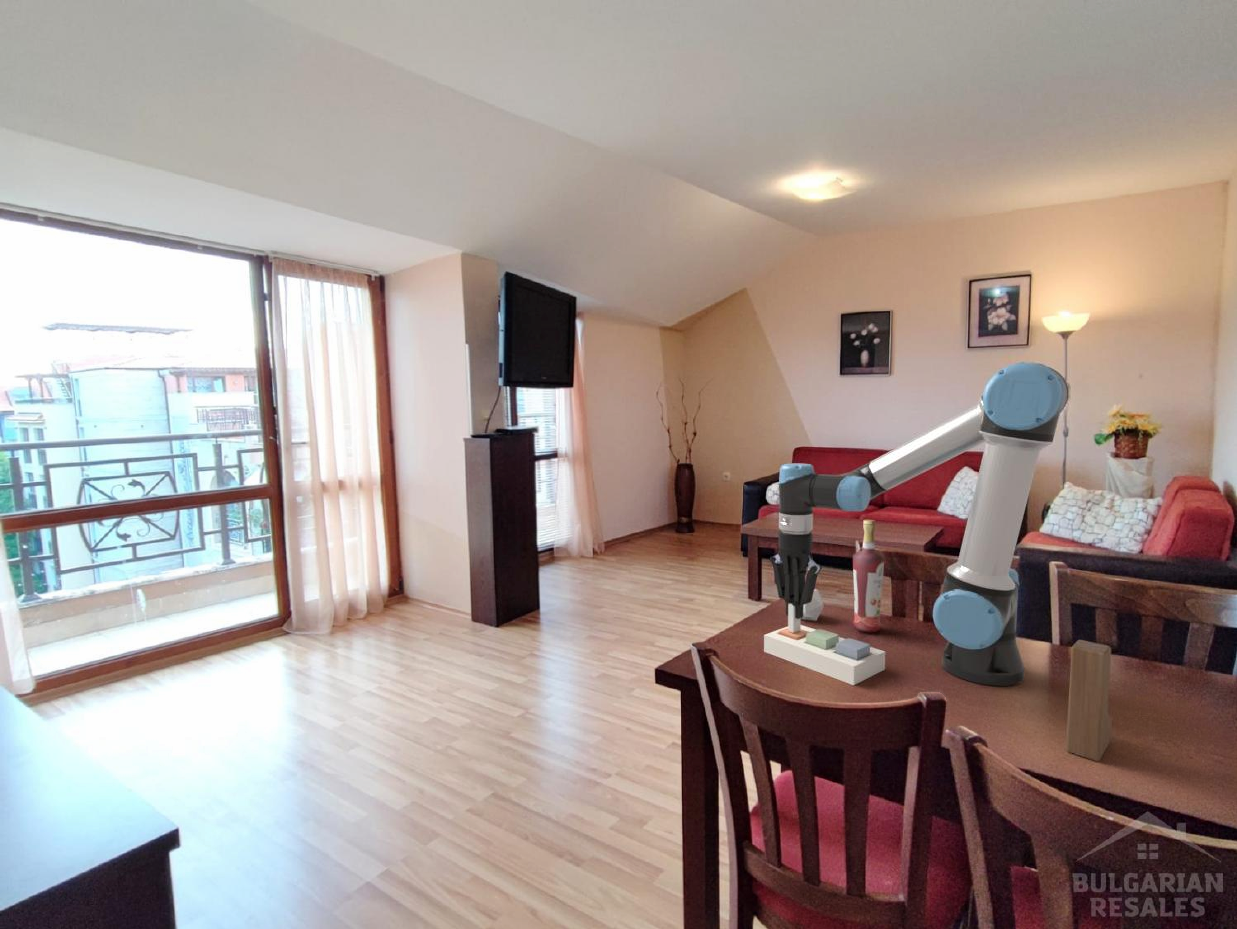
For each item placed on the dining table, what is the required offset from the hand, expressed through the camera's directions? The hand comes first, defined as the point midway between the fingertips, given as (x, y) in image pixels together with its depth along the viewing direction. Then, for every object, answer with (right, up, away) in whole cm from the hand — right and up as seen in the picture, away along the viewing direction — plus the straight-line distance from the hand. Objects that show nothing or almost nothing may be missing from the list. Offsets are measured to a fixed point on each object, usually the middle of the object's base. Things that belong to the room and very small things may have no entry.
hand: (794, 630), depth 147 cm
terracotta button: (0, -3, 0) cm, 3 cm away
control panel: (+5, -5, -5) cm, 9 cm away
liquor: (+22, -3, +13) cm, 26 cm away
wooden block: (+37, -8, -42) cm, 57 cm away
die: (+10, -3, +22) cm, 24 cm away
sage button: (+5, -2, -6) cm, 8 cm away
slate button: (+9, -3, -12) cm, 15 cm away
